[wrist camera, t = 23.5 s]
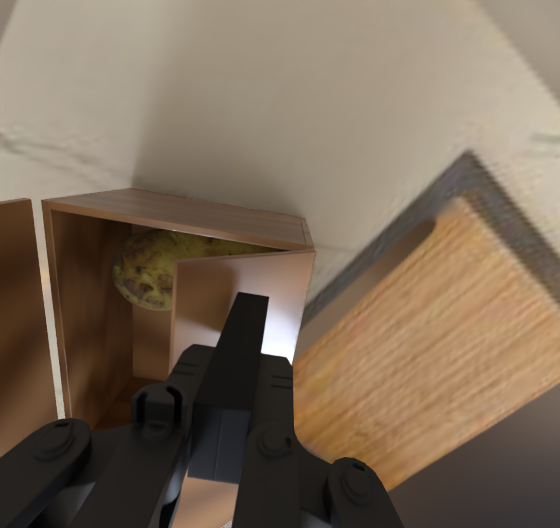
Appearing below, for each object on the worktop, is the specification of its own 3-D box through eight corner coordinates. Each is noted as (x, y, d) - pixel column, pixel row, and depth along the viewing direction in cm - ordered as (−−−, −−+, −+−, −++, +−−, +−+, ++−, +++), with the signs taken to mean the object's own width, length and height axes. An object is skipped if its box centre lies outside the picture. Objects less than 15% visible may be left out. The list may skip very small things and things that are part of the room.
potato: (269, 312, 28) (262, 366, 21) (143, 271, 27) (87, 312, 20) (298, 236, 26) (302, 265, 18) (160, 188, 25) (103, 197, 17)
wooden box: (118, 186, 25) (-201, 222, 9) (305, 218, 26) (335, 310, 9) (122, 374, 32) (-52, 593, 16) (269, 397, 32) (250, 633, 16)
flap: (173, 259, 11) (177, 262, 11) (311, 249, 16) (316, 251, 16) (159, 564, 18) (161, 571, 18) (259, 491, 23) (262, 496, 23)
